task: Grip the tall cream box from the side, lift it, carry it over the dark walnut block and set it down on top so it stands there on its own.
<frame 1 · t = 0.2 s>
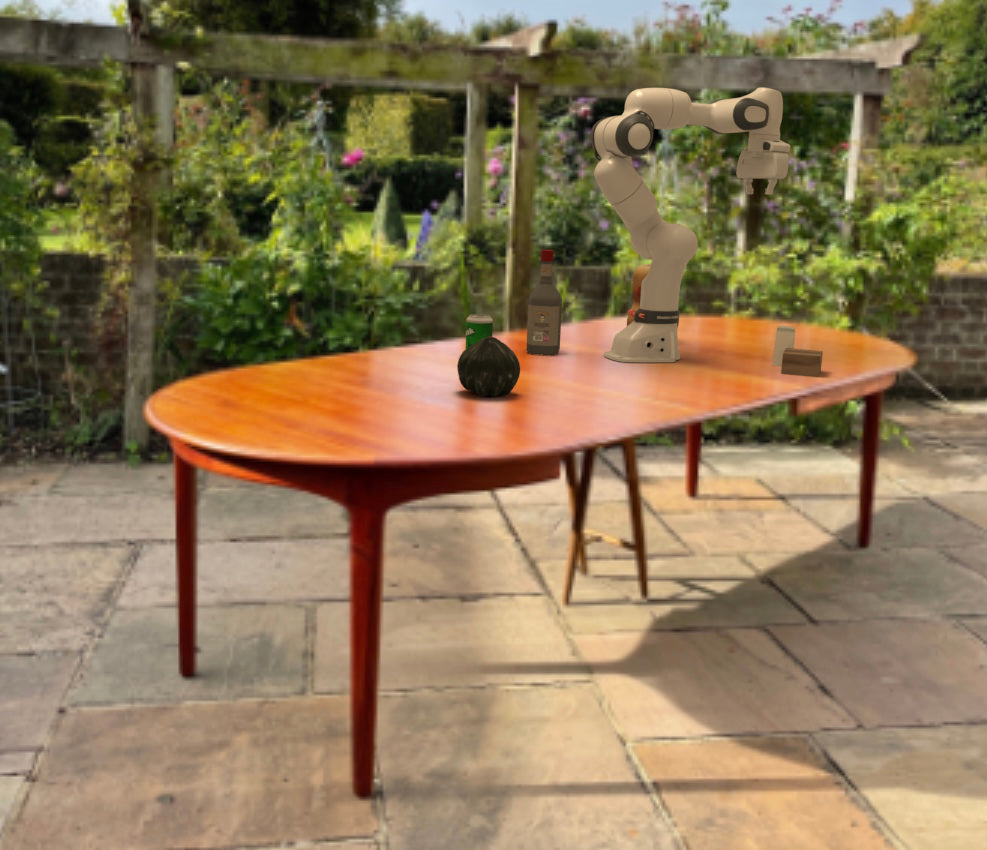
hand: (758, 194, 321), 48 cm above the table, tool pointing down, fingers open, 8 cm apart
walnut block: (800, 373, 304), on the table
soda can: (478, 358, 310), on the table
tall cream box: (782, 365, 315), on the table
squash: (488, 394, 261), on the table
liquor: (542, 353, 322), on the table
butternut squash: (647, 343, 349), on the table
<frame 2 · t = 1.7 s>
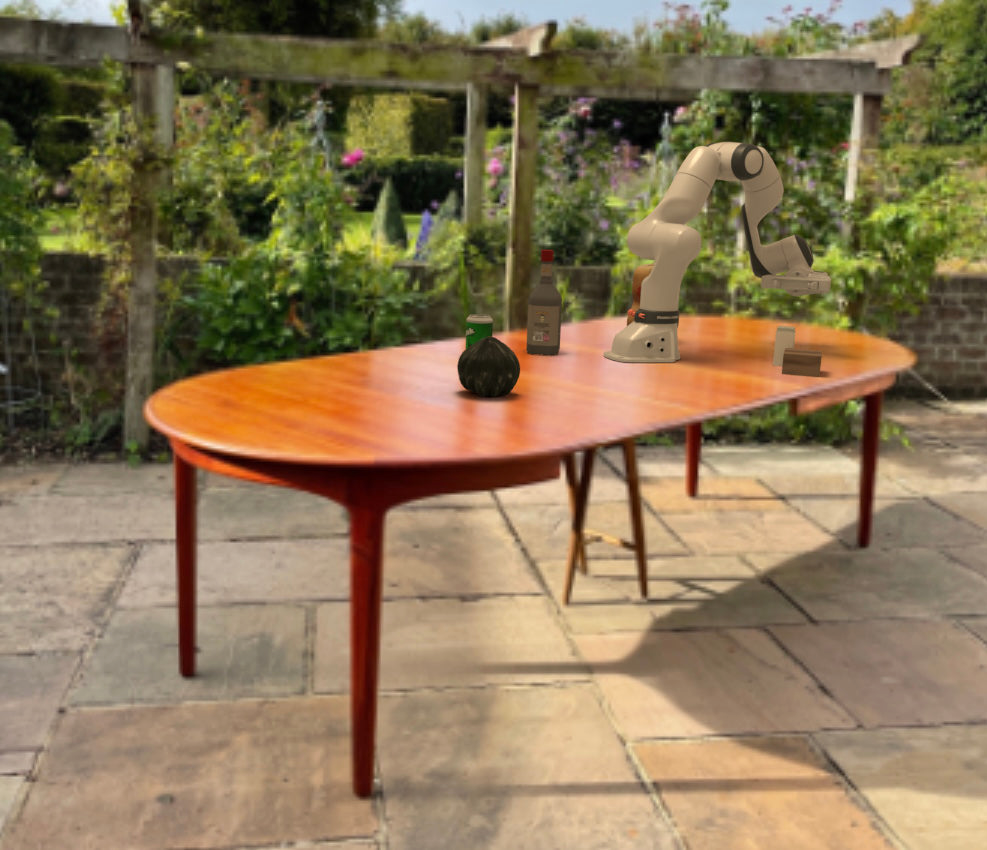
hand: (793, 285, 321), 22 cm above the table, tool horizontal, fingers open, 8 cm apart
nothing on the table moved.
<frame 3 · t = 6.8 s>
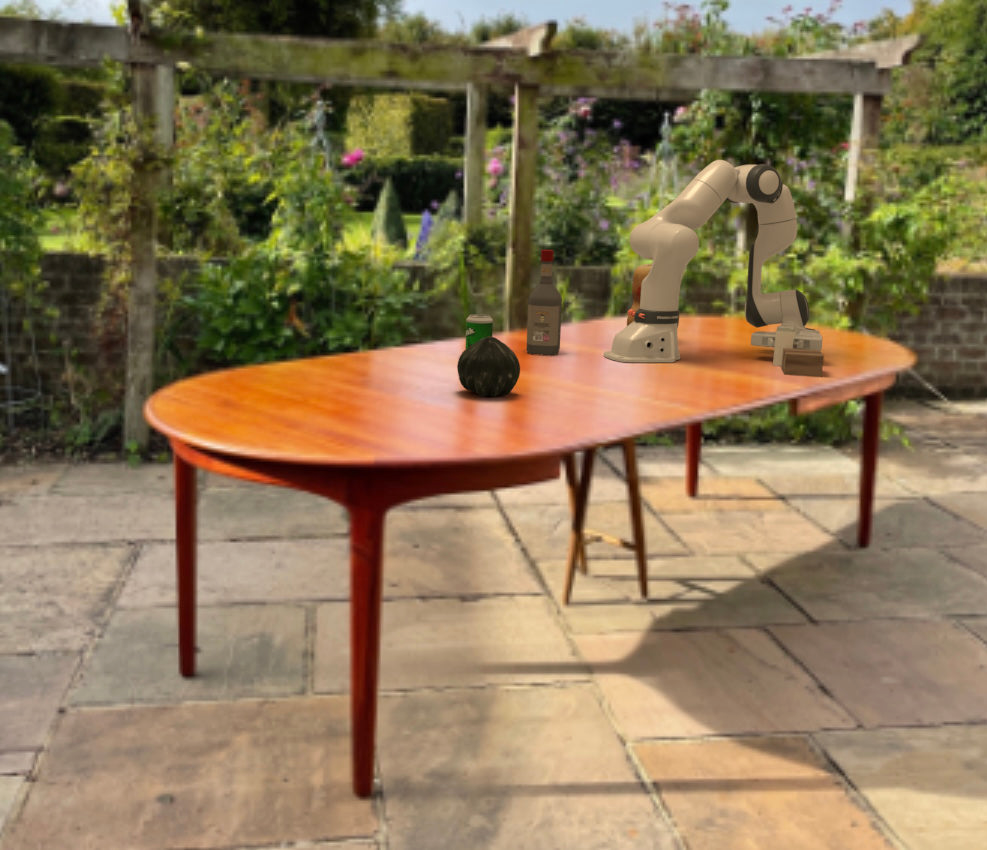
hand: (784, 344, 313), 6 cm above the table, tool horizontal, fingers closed on tall cream box, 5 cm apart
tall cream box: (782, 365, 315), on the table, touching gripper
everything else where it was.
when the fingers open (12 cm above the table, at t = 11.3 s): tall cream box stays where it is, resting on walnut block.
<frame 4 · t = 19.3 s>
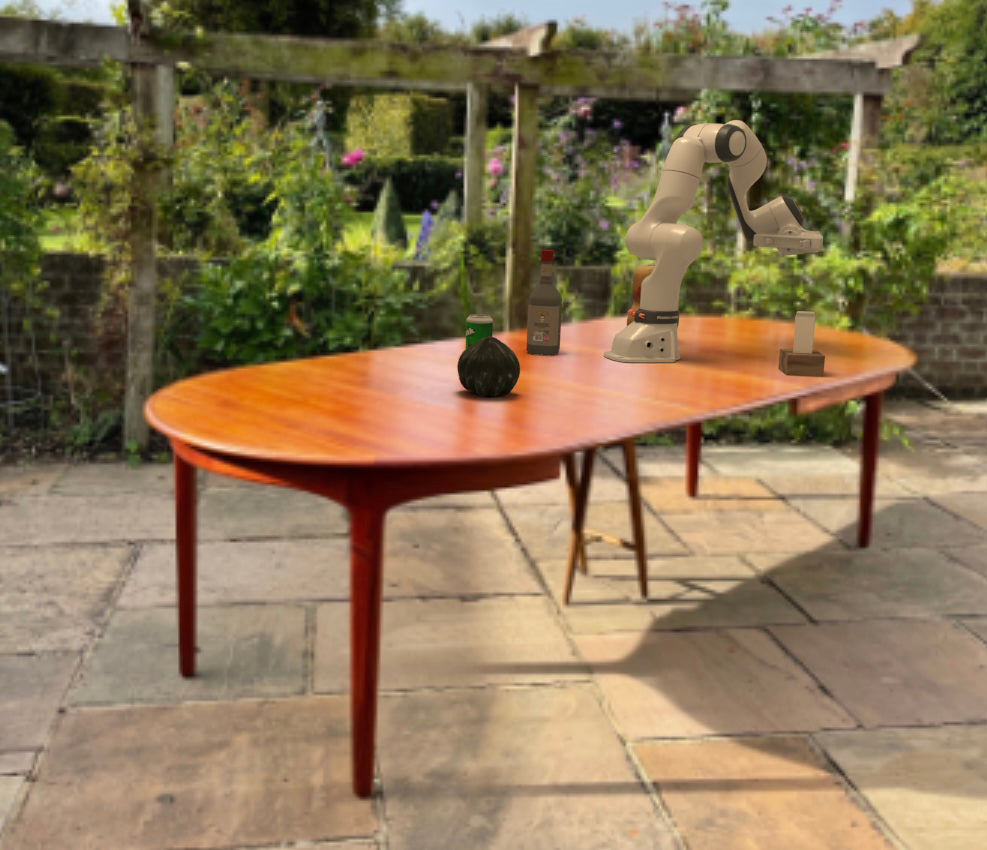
hand: (785, 242, 321), 34 cm above the table, tool horizontal, fingers open, 8 cm apart
walnut block: (800, 373, 304), on the table, touching tall cream box
tall cream box: (802, 351, 303), point 6 cm above the table, touching walnut block
everything else where it was.
at the end: tall cream box inside the target area on the walnut block (0.3 cm from its centre), point 6.1 cm above the walnut block's base; tall cream box tilted 2°; the gripper is holding nothing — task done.
